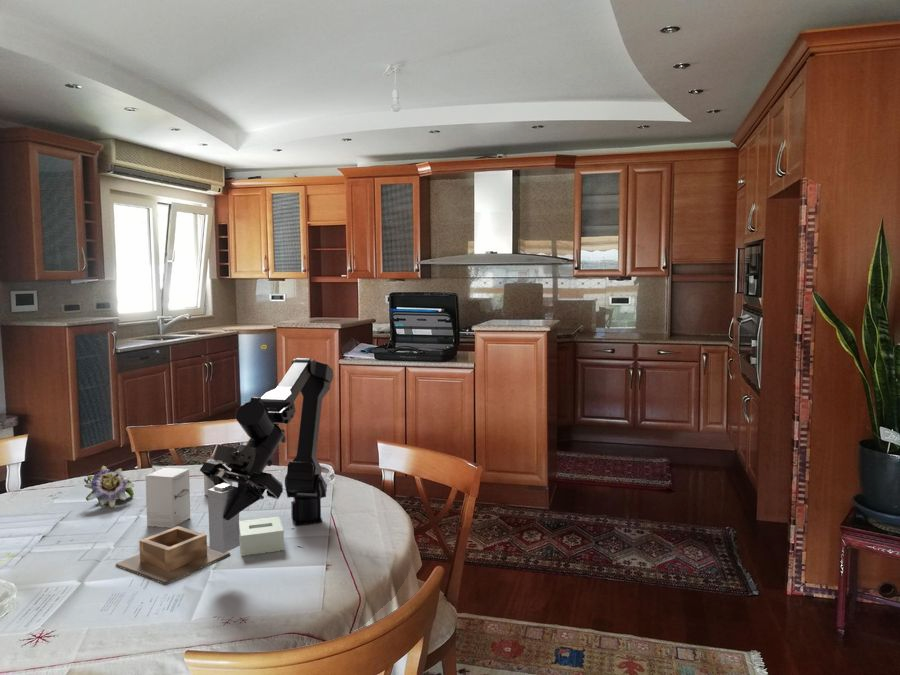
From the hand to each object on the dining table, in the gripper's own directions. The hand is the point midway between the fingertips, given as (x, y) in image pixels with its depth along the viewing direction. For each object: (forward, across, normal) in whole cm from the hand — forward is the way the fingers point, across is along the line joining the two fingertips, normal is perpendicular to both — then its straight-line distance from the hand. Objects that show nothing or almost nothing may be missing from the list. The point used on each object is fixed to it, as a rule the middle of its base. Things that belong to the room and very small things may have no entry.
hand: (218, 517), depth 129 cm
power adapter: (-16, -44, +35) cm, 58 cm away
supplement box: (-1, -36, +20) cm, 42 cm away
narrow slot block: (-3, -7, +22) cm, 23 cm away
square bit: (+4, 0, +6) cm, 7 cm away
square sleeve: (+8, -16, +11) cm, 21 cm away
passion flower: (-2, -62, +21) cm, 65 cm away
